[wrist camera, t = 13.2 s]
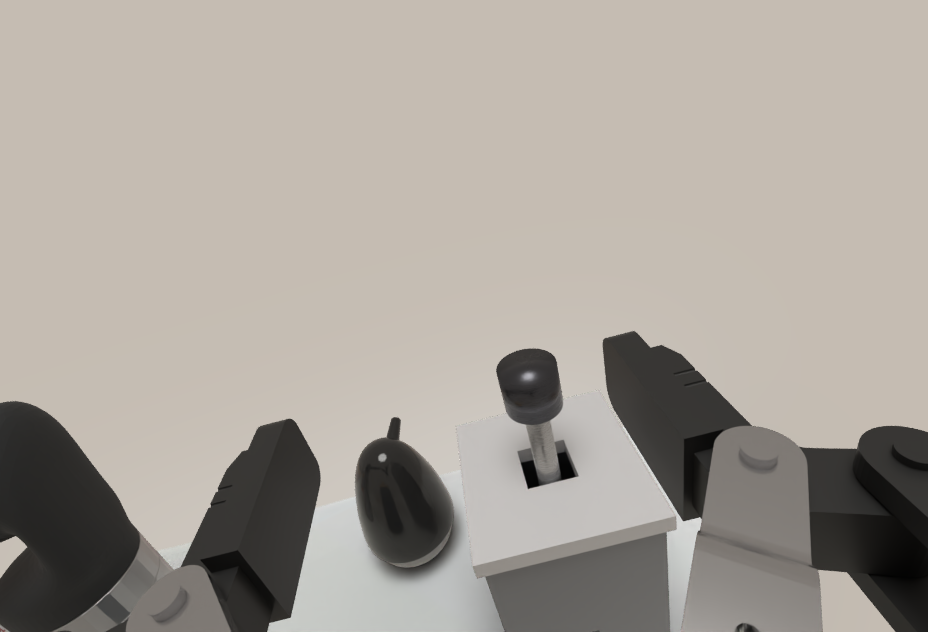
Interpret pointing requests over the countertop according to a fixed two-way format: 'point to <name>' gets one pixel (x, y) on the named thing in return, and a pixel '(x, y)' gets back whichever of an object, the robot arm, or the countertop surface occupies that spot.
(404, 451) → the black egg-shaped dispenser
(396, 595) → the countertop surface
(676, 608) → the countertop surface
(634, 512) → the press
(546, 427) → the plunger
